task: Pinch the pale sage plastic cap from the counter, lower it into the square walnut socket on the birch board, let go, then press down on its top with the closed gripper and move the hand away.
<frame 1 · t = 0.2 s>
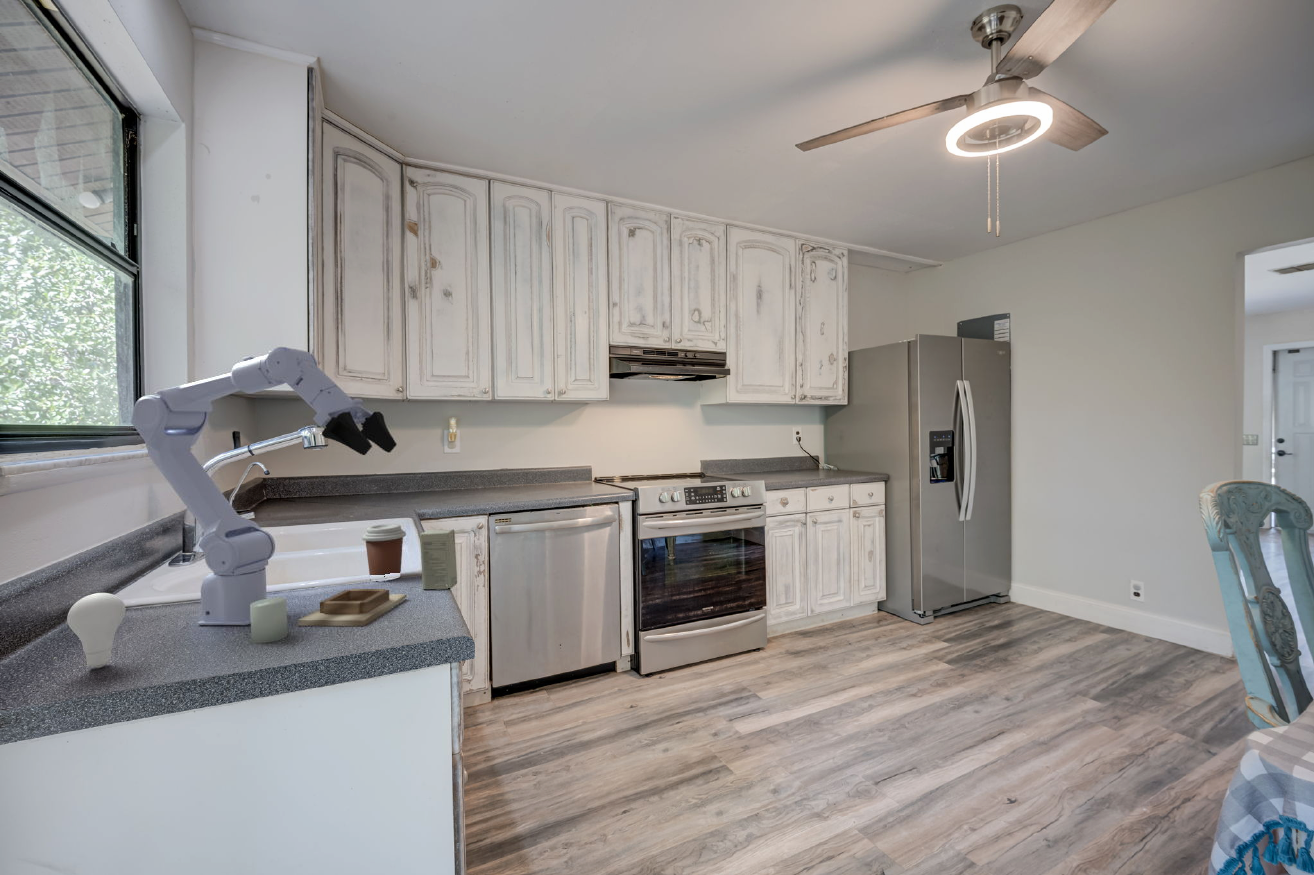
hand: (380, 449, 101), 31 cm above the worktop, tool tilted 45°, fingers open, 7 cm apart
sage cap: (269, 637, 95), on the worktop
lightbulb: (99, 668, 84), on the worktop
skincare box: (439, 588, 123), on the worktop
coffee cup: (385, 579, 130), on the worktop
socket board: (356, 611, 107), on the worktop
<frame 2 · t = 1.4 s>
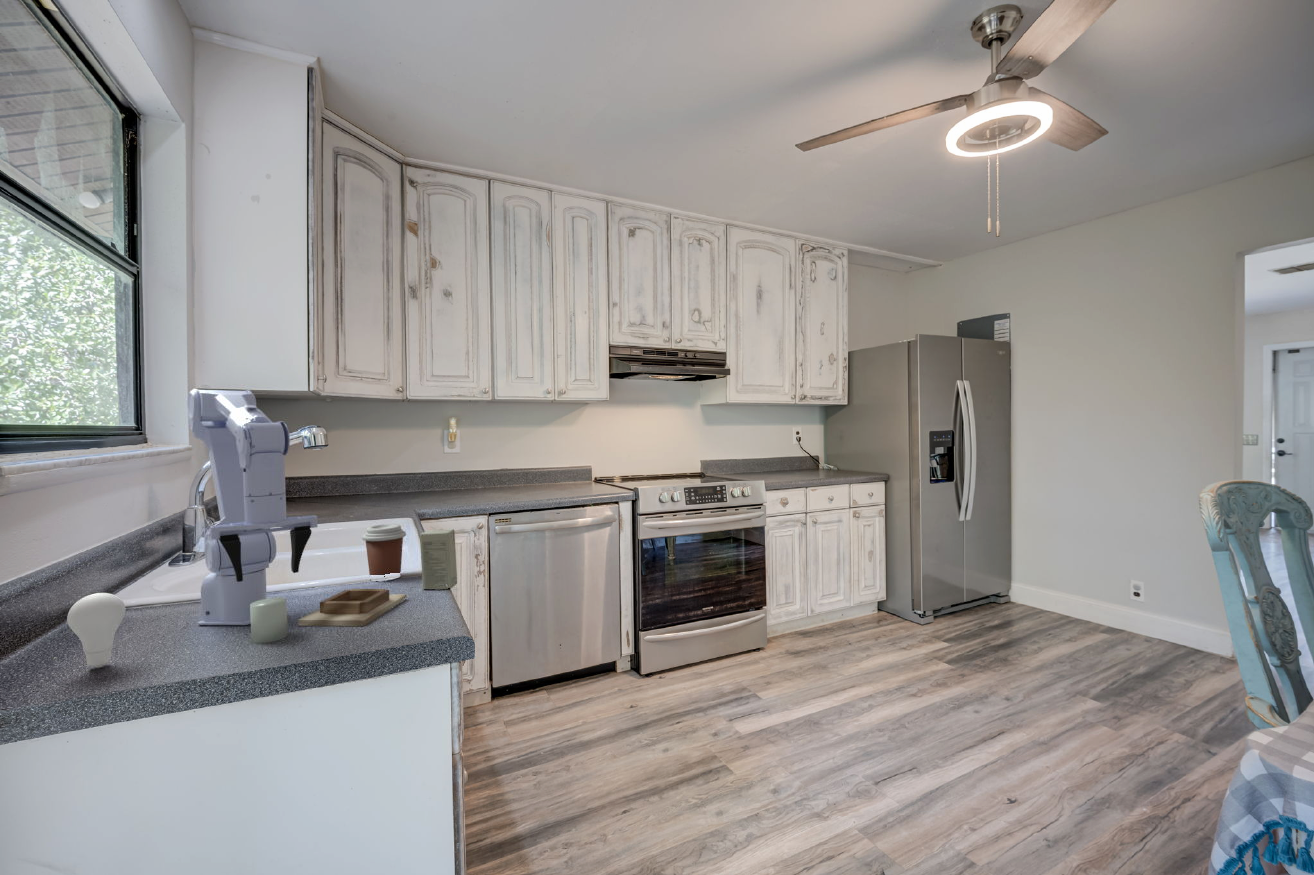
hand: (268, 575, 94), 10 cm above the worktop, tool pointing down, fingers open, 7 cm apart
nothing on the worktop moved.
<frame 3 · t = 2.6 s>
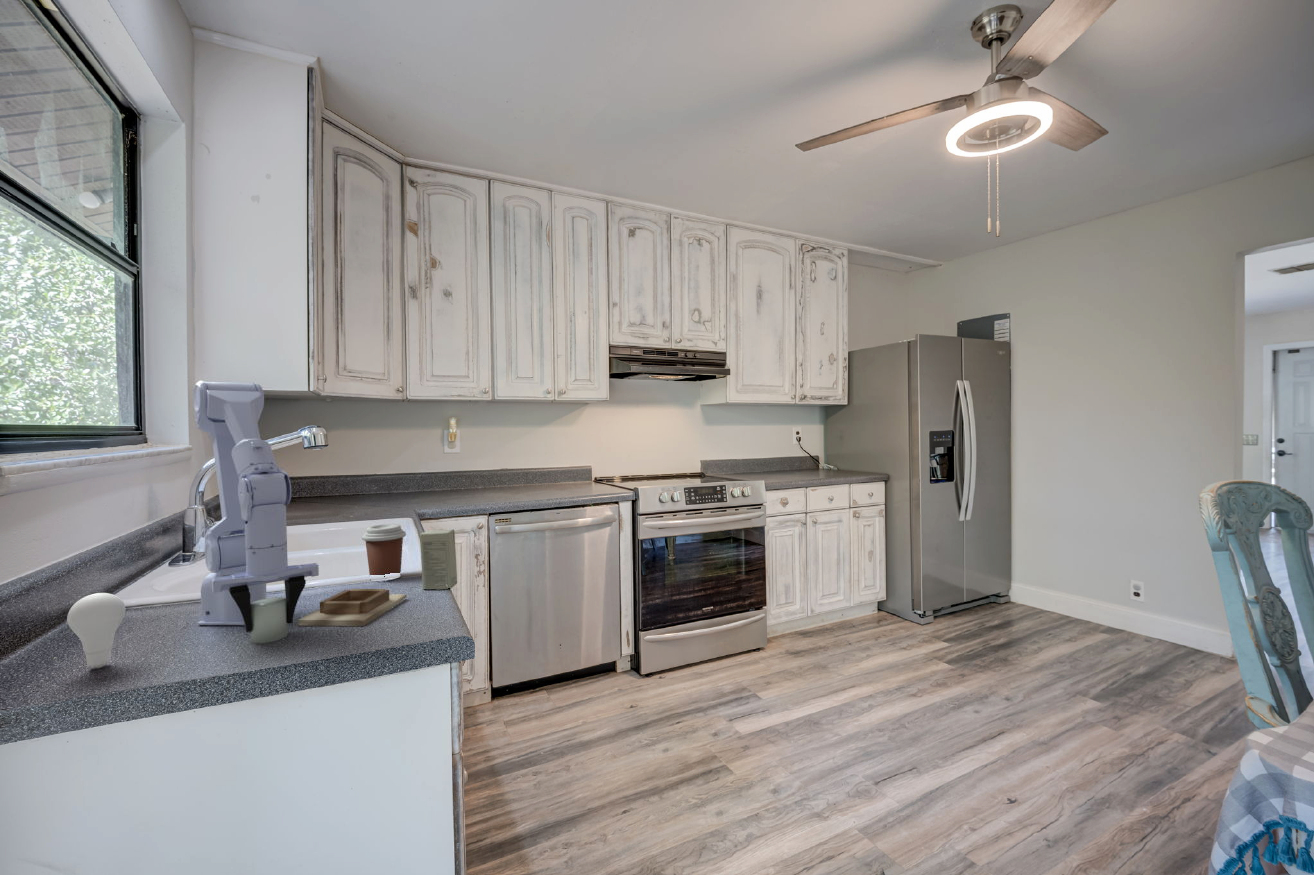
hand: (269, 626, 94), 2 cm above the worktop, tool pointing down, fingers closed on sage cap, 5 cm apart
sage cap: (269, 637, 95), on the worktop, touching gripper
everything else where it was.
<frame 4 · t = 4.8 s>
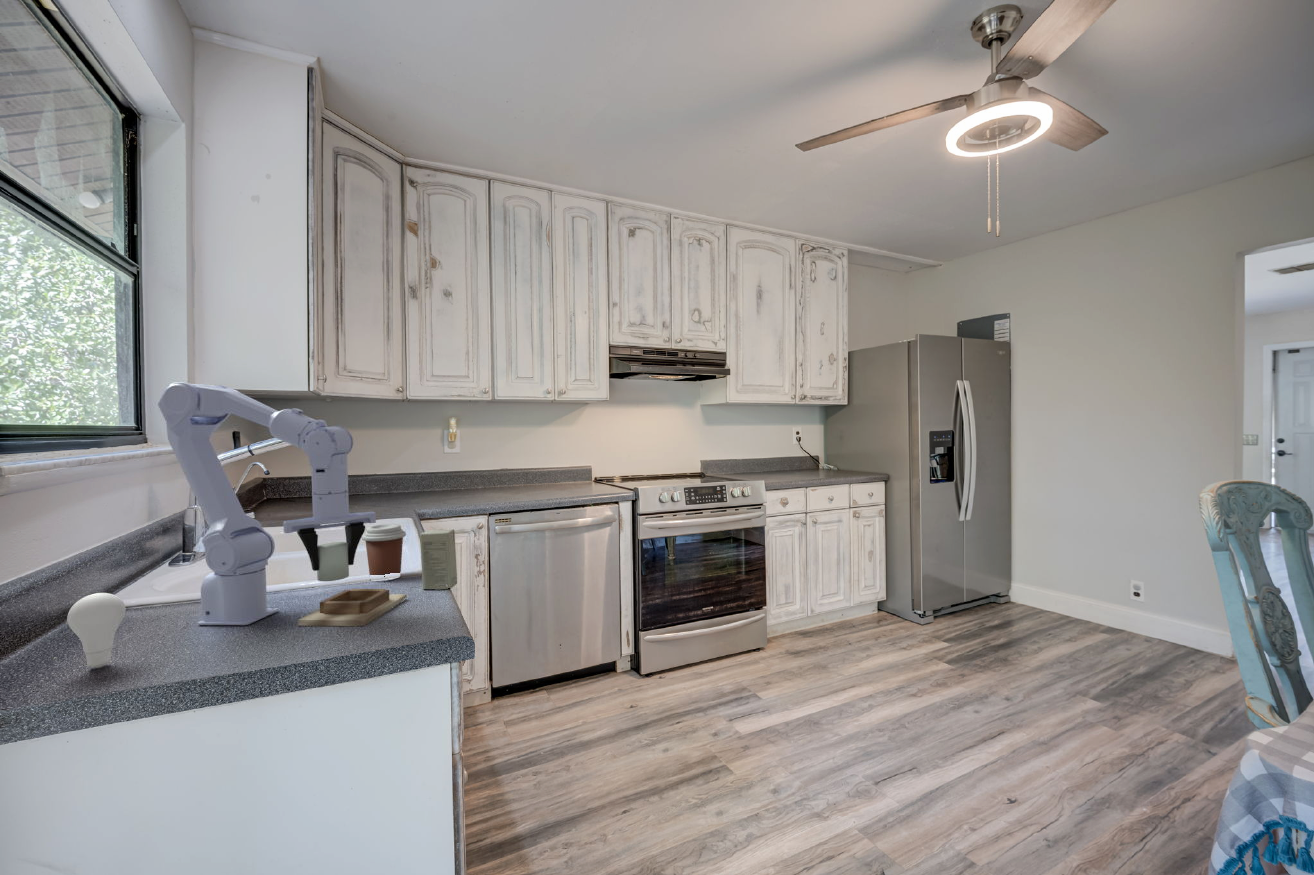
hand: (333, 566, 103), 9 cm above the worktop, tool pointing down, fingers closed on sage cap, 5 cm apart
sage cap: (333, 577, 103), point 8 cm above the worktop, touching gripper
everything else where it was.
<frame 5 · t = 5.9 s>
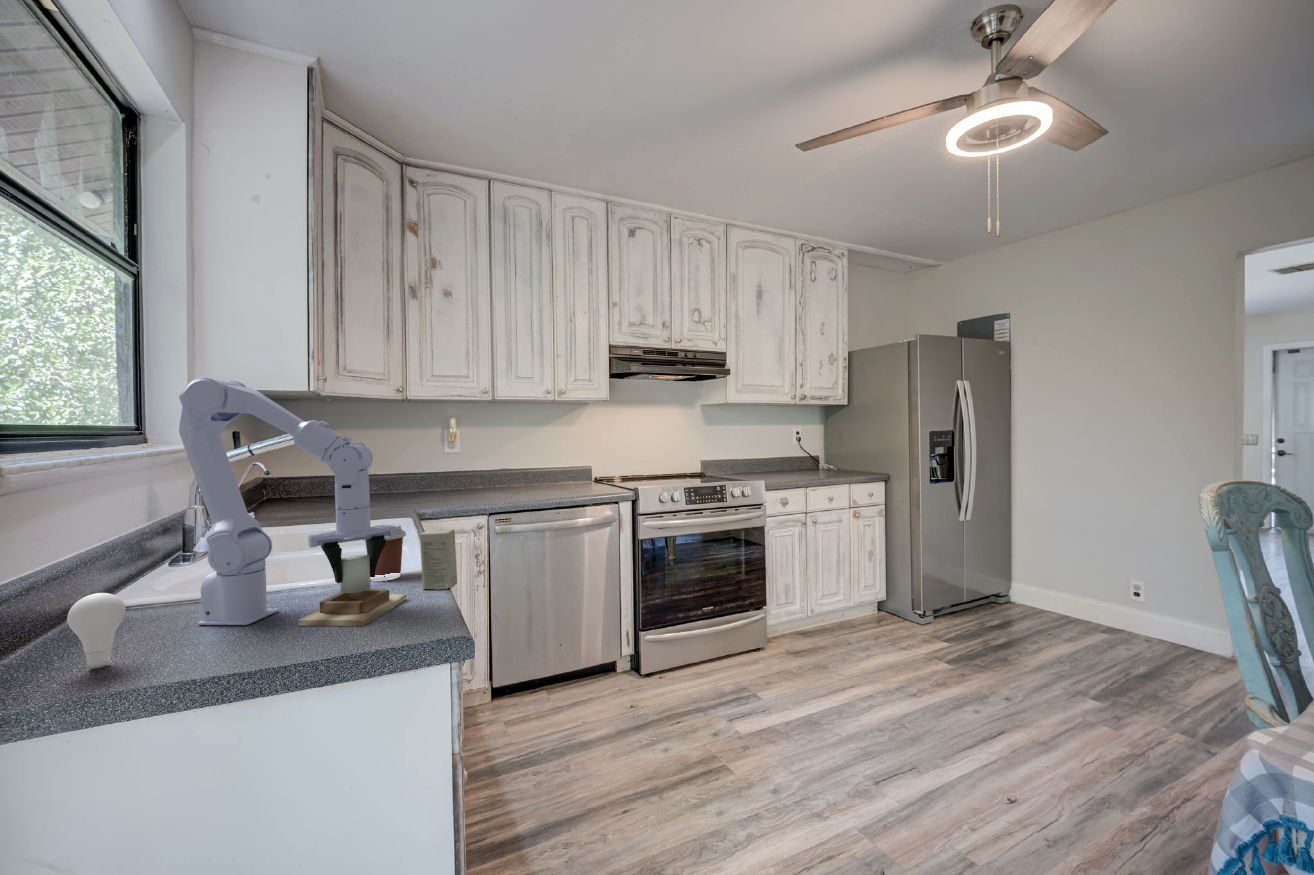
hand: (355, 579, 107), 6 cm above the worktop, tool pointing down, fingers closed on sage cap, 5 cm apart
sage cap: (355, 589, 107), point 4 cm above the worktop, touching gripper
everything else where it was.
when the fingers open (4 cm above the worktop, at t = 6.9 s): sage cap stays where it is, resting on socket board.
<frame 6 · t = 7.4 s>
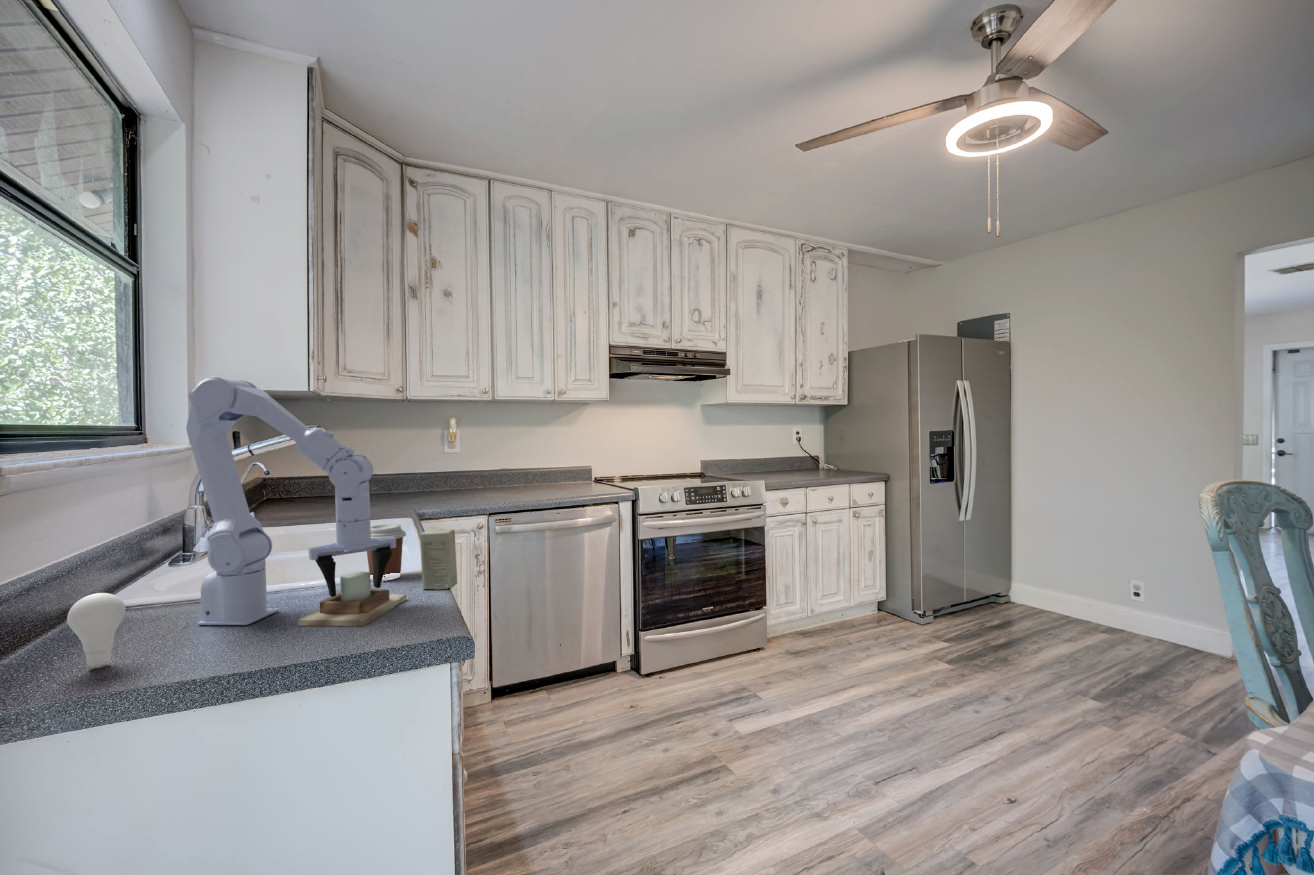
hand: (355, 591, 107), 4 cm above the worktop, tool pointing down, fingers open, 7 cm apart
sage cap: (356, 606, 107), point 1 cm above the worktop, touching socket board
everything else where it was.
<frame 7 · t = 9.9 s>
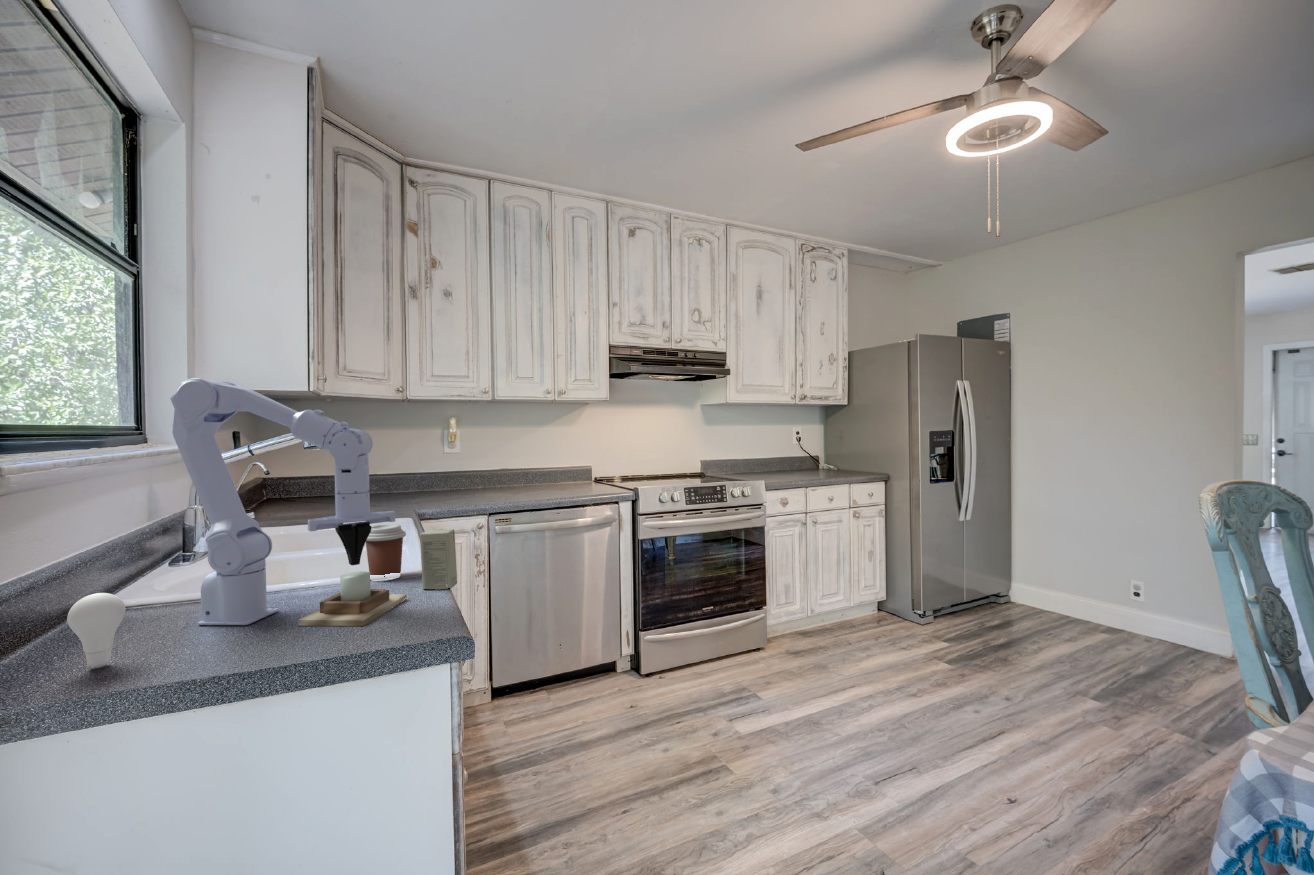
hand: (354, 564, 107), 9 cm above the worktop, tool pointing down, fingers closed
nothing on the worktop moved.
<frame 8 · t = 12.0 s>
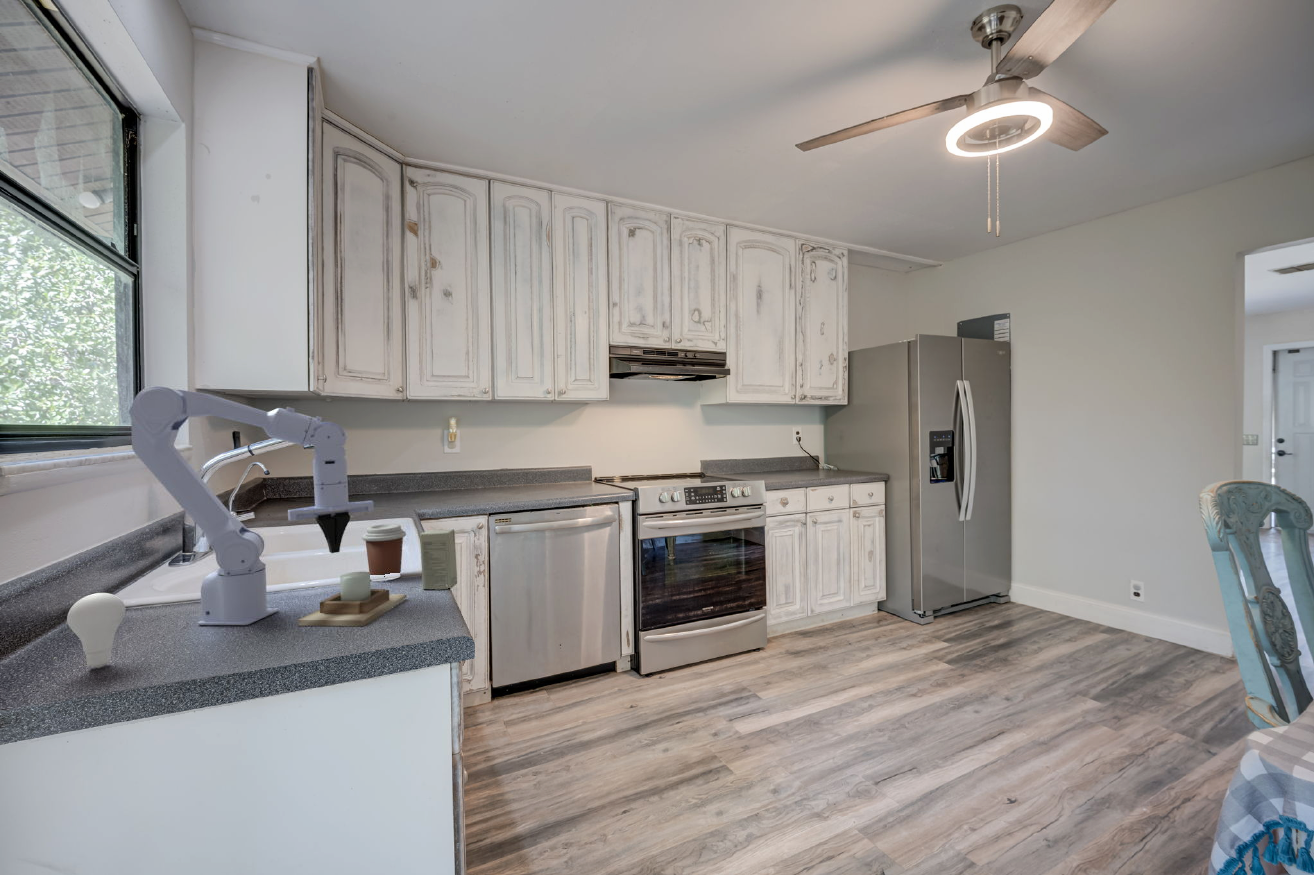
hand: (334, 551, 111), 10 cm above the worktop, tool pointing down, fingers closed
nothing on the worktop moved.
at the end: sage cap 0.1 cm off-centre on the socket board, point 1.0 cm above the socket board's base; sage cap tilted 0°; the gripper is holding nothing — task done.
